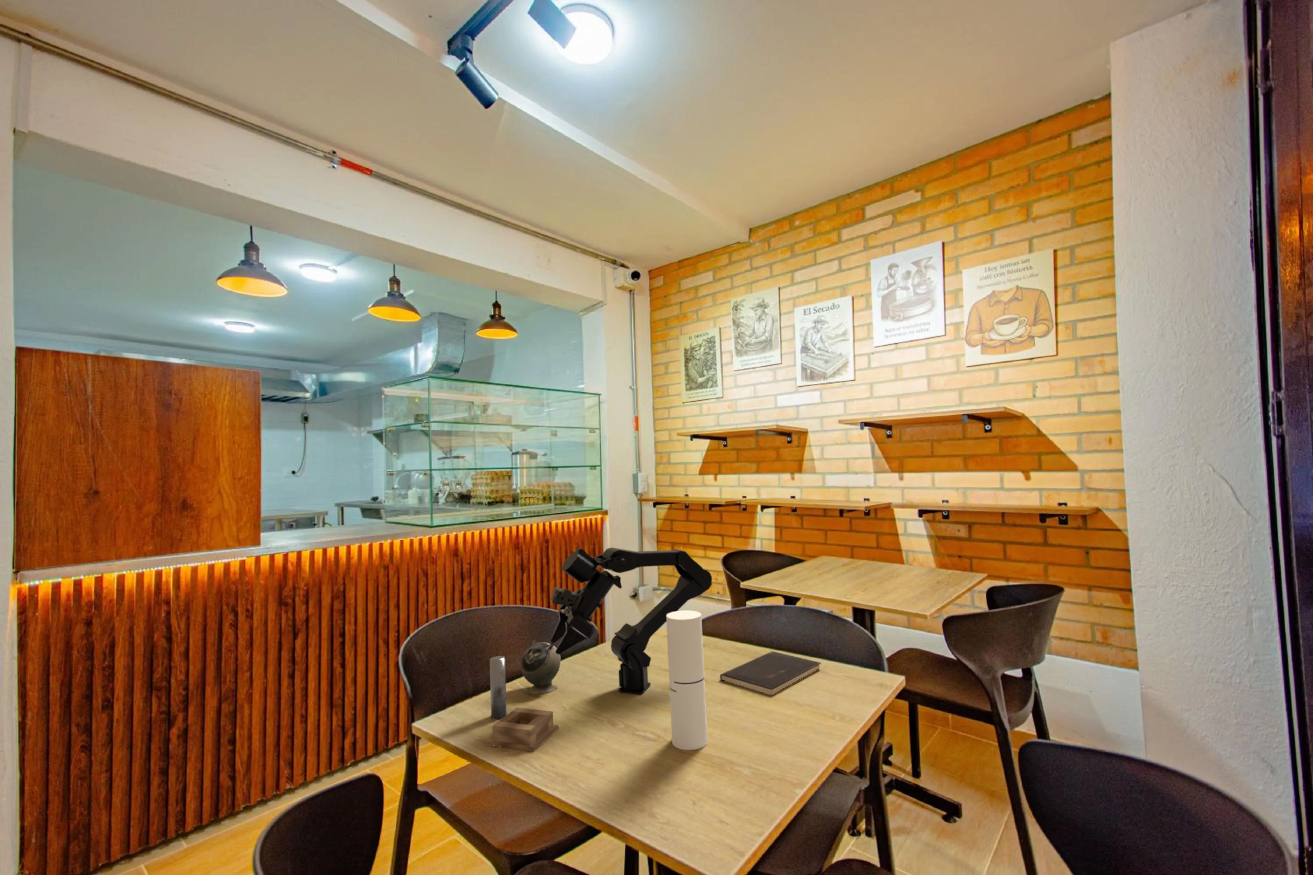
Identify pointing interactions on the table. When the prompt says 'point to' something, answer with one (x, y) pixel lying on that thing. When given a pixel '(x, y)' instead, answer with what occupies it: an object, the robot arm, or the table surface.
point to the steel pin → (498, 687)
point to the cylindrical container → (686, 680)
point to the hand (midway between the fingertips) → (554, 647)
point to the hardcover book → (770, 672)
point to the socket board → (523, 729)
